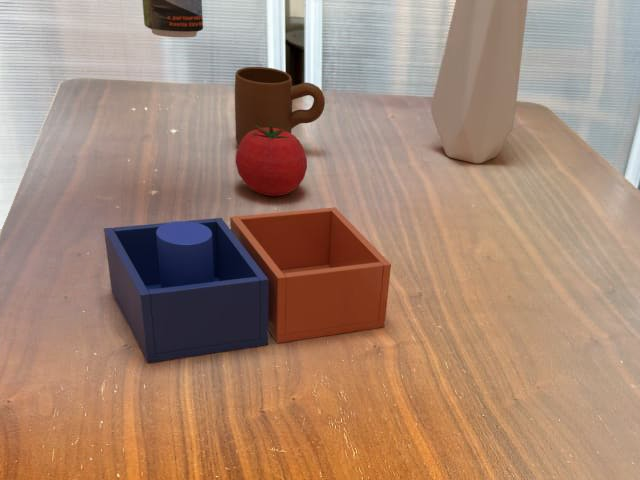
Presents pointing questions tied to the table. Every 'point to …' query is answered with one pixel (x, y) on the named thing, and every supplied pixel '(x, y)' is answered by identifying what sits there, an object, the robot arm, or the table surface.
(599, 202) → the table surface
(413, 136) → the table surface
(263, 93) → the mug
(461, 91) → the vase
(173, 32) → the beverage can
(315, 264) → the terracotta bin
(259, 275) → the blue bin
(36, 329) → the table surface
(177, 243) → the blue cylinder
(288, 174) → the tomato
